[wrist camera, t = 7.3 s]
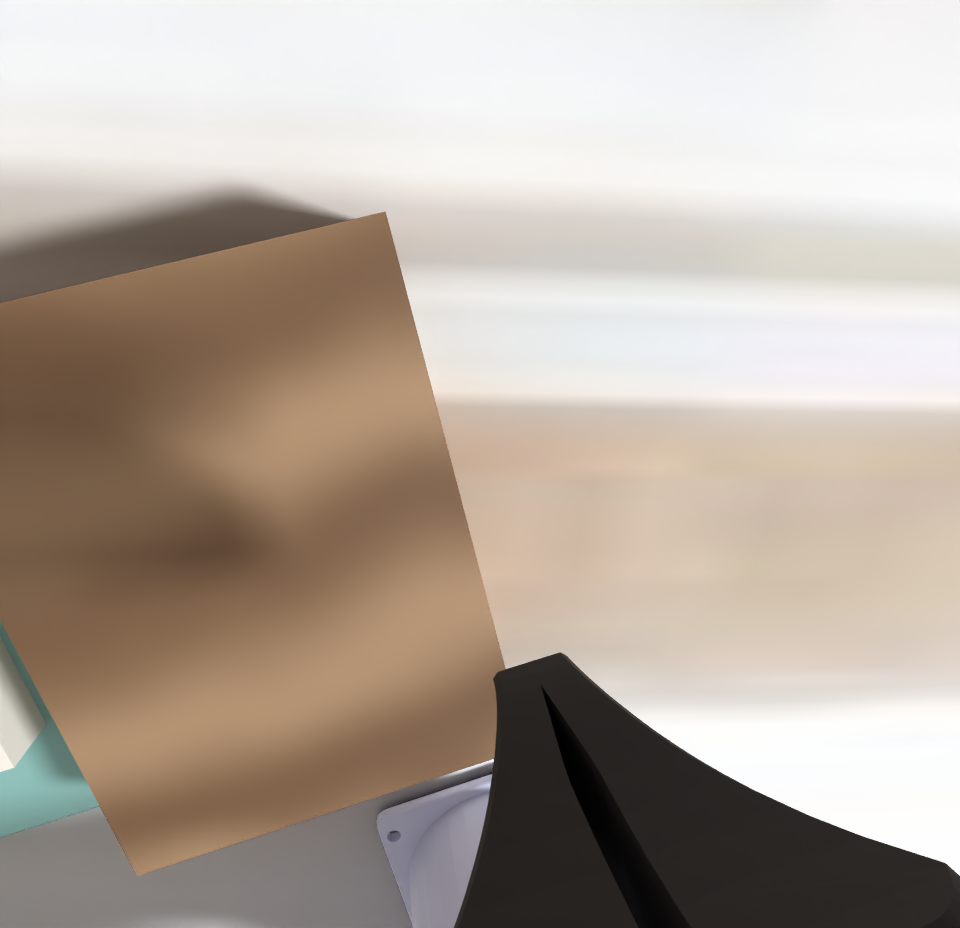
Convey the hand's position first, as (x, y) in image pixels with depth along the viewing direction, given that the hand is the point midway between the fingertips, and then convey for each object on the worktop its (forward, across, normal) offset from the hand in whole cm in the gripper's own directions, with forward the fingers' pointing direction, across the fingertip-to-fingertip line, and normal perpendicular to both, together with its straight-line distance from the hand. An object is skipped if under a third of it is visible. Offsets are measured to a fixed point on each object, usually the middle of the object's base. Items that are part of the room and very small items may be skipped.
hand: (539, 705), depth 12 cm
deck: (+10, +6, -1) cm, 12 cm away
